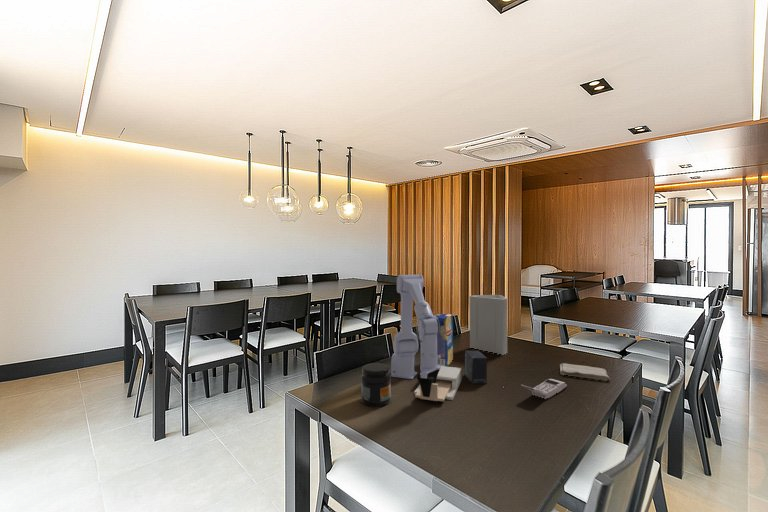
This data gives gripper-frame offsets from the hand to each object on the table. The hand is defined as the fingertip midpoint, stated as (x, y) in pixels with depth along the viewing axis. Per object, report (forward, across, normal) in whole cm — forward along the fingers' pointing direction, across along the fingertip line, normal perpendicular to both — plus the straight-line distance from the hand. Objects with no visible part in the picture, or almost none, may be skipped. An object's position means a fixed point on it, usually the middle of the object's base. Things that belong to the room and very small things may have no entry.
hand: (429, 392), depth 123 cm
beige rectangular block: (+3, +8, 0) cm, 8 cm away
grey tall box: (+4, +78, -15) cm, 79 cm away
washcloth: (+5, +51, -54) cm, 74 cm away
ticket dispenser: (+4, +15, 0) cm, 16 cm away
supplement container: (+4, -4, +18) cm, 19 cm away
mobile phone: (+4, +23, -38) cm, 44 cm away
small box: (+4, +29, -12) cm, 32 cm away
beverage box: (+4, +46, +5) cm, 46 cm away
